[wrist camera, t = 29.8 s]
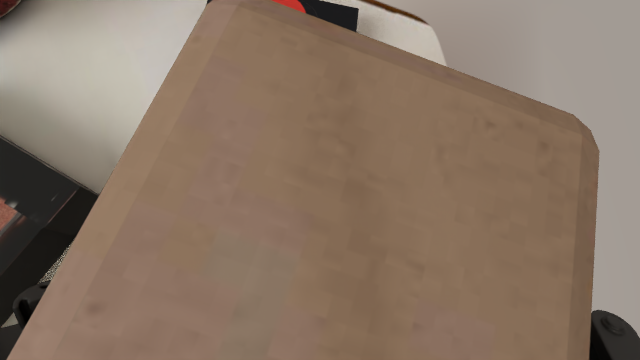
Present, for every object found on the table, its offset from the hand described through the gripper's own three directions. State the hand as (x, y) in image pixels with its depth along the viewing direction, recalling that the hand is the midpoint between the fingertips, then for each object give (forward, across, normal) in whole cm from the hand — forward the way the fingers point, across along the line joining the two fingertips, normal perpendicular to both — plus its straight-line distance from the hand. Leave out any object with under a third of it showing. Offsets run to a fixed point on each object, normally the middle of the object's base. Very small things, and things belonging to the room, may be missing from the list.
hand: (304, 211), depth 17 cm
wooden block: (+5, 0, -9) cm, 10 cm away
